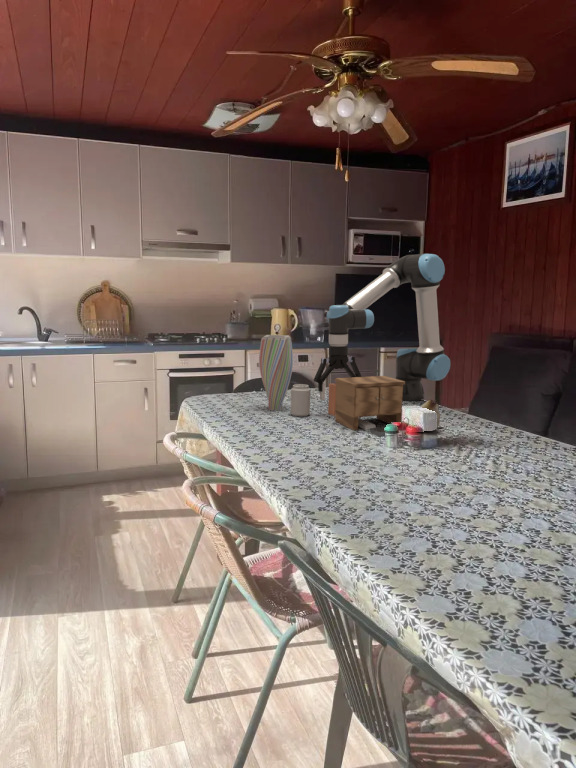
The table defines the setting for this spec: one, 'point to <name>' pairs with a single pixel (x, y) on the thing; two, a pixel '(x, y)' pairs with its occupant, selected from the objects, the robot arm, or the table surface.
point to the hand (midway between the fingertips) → (337, 398)
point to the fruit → (432, 408)
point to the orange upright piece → (332, 407)
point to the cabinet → (368, 399)
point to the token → (378, 431)
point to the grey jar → (300, 400)
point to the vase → (276, 367)
